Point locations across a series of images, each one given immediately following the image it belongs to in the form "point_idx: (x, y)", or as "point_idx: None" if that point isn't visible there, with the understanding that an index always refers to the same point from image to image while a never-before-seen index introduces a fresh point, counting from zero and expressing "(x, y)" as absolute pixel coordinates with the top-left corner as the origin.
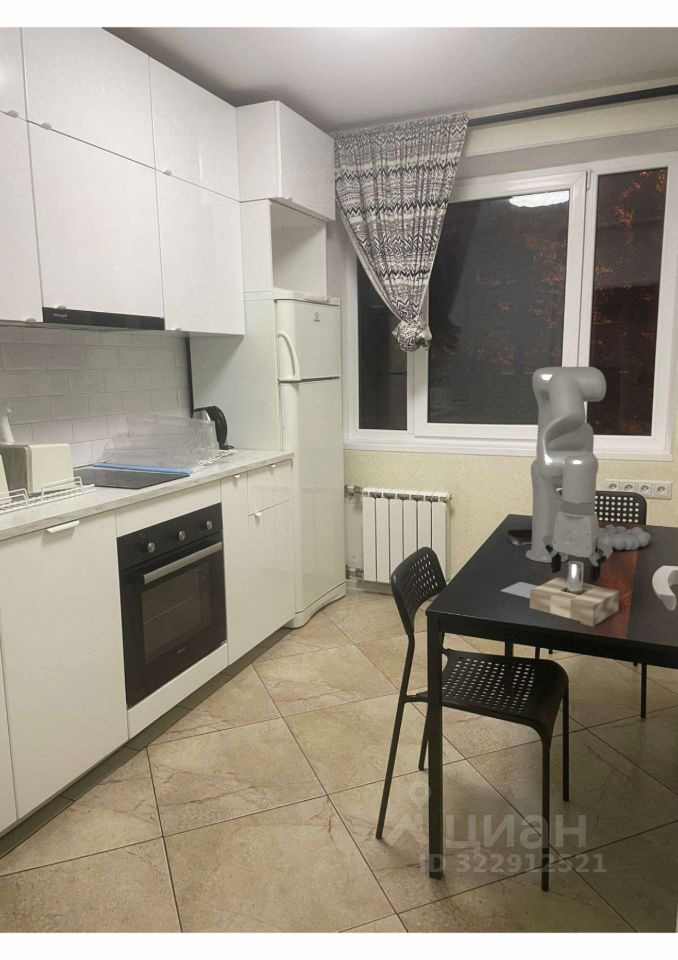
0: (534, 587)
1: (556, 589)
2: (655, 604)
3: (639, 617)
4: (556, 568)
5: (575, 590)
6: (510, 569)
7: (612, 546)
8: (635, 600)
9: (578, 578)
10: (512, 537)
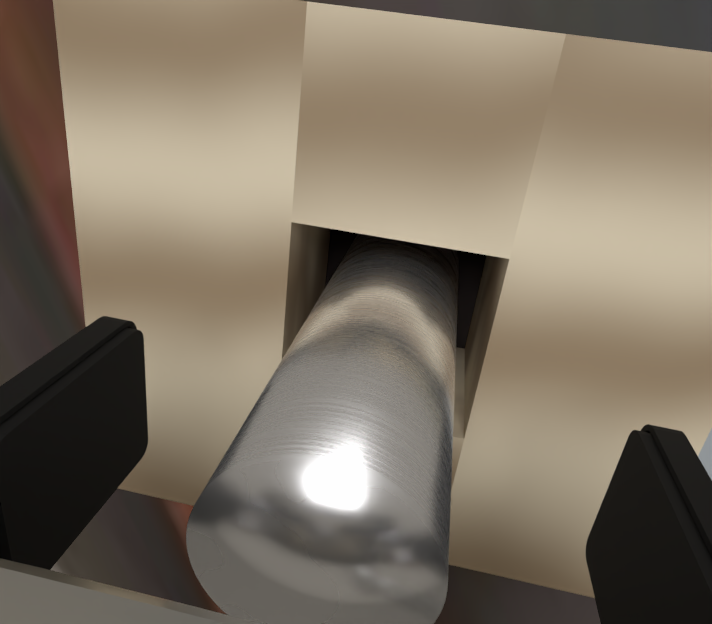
0: None
1: (555, 281)
2: (83, 555)
3: (44, 348)
4: (638, 499)
5: (345, 280)
6: None
7: None
8: (176, 571)
9: (289, 357)
10: None
